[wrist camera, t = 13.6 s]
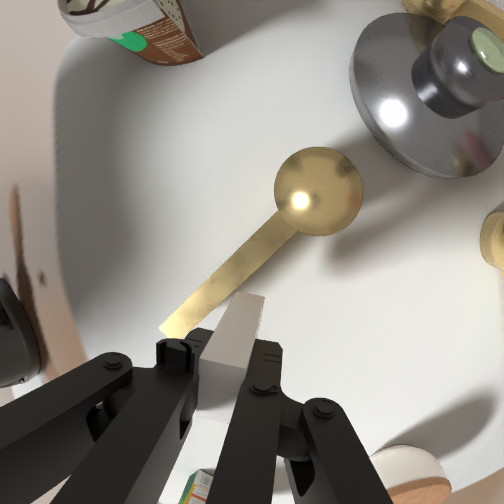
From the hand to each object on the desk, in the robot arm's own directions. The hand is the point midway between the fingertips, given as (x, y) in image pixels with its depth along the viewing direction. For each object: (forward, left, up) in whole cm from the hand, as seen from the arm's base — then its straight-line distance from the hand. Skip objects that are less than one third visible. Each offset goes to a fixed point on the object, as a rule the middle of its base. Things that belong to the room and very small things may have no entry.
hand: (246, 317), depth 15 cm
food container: (-11, +19, -5) cm, 23 cm away
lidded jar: (+18, -18, -5) cm, 26 cm away
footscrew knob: (0, +3, -5) cm, 6 cm away
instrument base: (+13, +19, -5) cm, 24 cm away
